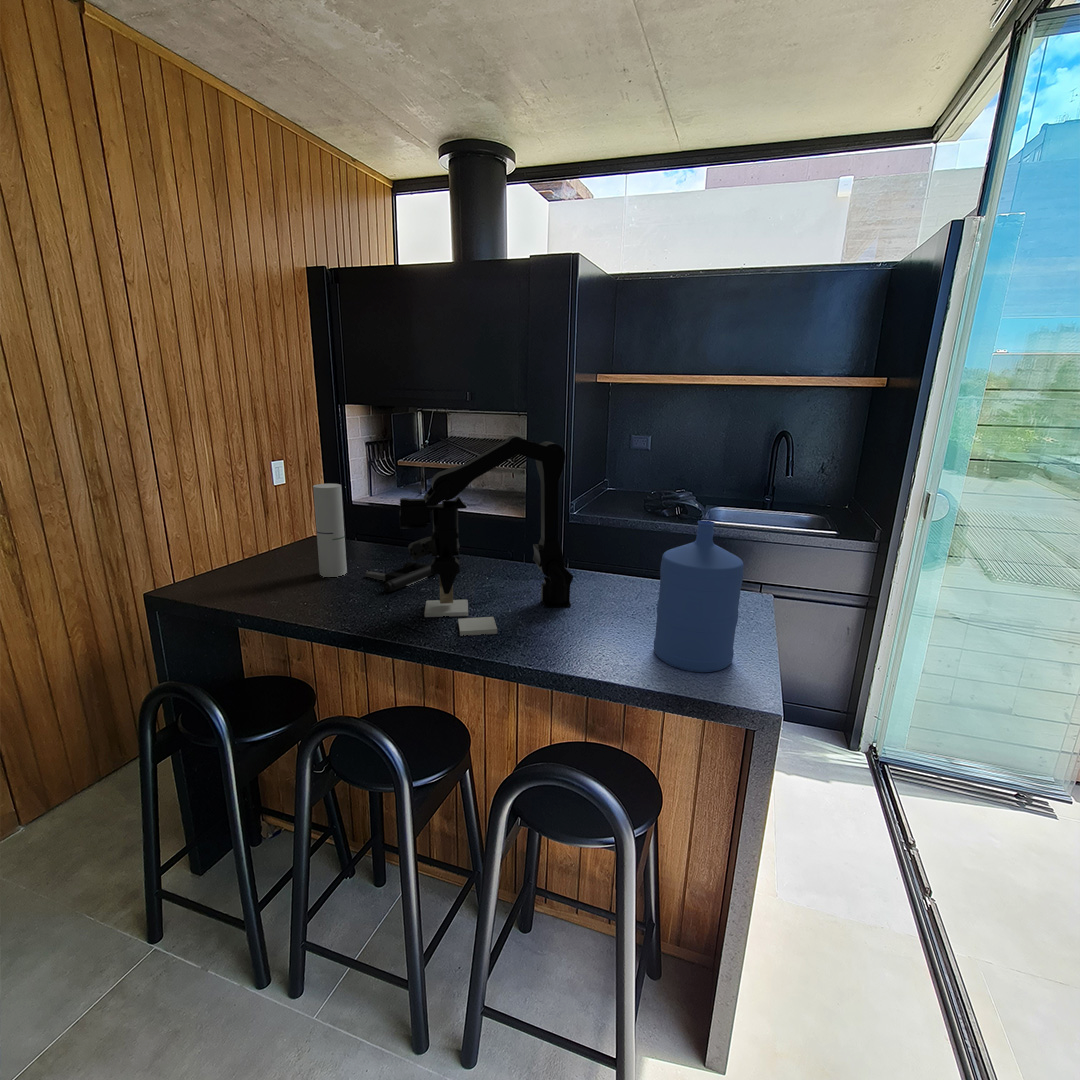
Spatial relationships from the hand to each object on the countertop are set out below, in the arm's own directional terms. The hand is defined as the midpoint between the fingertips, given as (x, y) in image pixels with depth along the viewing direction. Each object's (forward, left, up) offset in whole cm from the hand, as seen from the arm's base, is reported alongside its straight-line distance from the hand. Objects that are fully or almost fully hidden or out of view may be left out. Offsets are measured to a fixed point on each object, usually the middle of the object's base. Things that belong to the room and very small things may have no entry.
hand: (446, 591), depth 134 cm
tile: (-7, +8, -5) cm, 11 cm away
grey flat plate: (0, 0, -5) cm, 5 cm away
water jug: (-50, +28, -5) cm, 58 cm away
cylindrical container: (+32, -29, -5) cm, 44 cm away
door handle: (+14, -24, -5) cm, 28 cm away
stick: (0, 0, -2) cm, 3 cm away
